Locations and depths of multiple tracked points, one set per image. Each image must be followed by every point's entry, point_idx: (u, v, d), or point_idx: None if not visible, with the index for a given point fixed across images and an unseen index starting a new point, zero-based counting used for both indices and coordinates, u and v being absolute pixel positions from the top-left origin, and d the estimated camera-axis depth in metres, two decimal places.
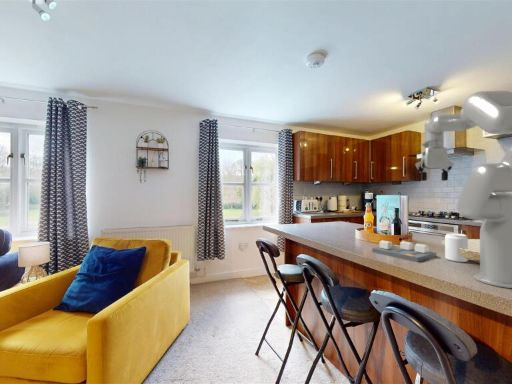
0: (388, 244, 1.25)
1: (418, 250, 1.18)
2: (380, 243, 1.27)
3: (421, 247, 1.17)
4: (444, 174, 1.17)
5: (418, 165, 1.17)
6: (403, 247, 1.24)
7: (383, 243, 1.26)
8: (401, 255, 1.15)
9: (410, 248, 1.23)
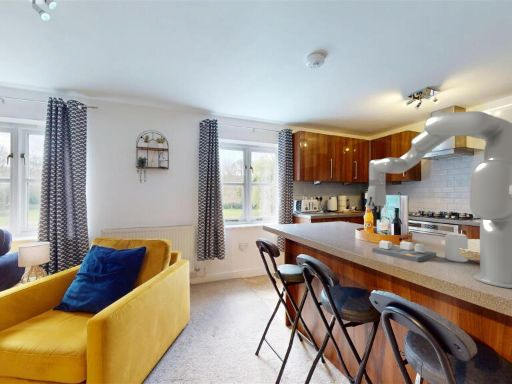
0: (388, 244, 1.25)
1: (418, 250, 1.18)
2: (380, 243, 1.27)
3: (421, 247, 1.17)
4: None
5: None
6: (403, 247, 1.24)
7: (383, 243, 1.26)
8: (401, 255, 1.15)
9: (410, 248, 1.23)
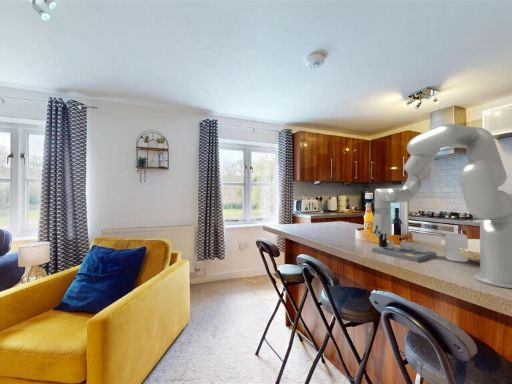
0: (390, 244, 1.25)
1: (418, 250, 1.18)
2: None
3: (421, 247, 1.17)
4: None
5: None
6: (403, 247, 1.24)
7: None
8: (401, 255, 1.15)
9: (410, 248, 1.23)
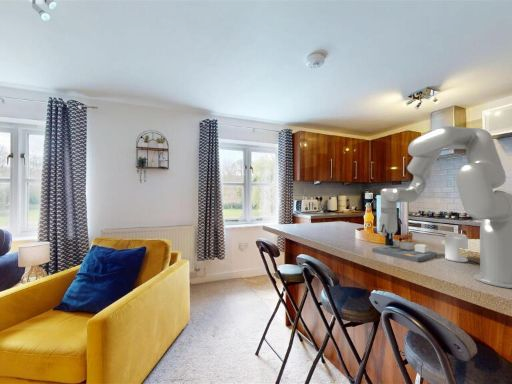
0: (396, 242, 1.28)
1: (418, 250, 1.18)
2: None
3: (421, 247, 1.17)
4: None
5: None
6: (403, 247, 1.24)
7: None
8: (401, 255, 1.15)
9: (410, 248, 1.23)
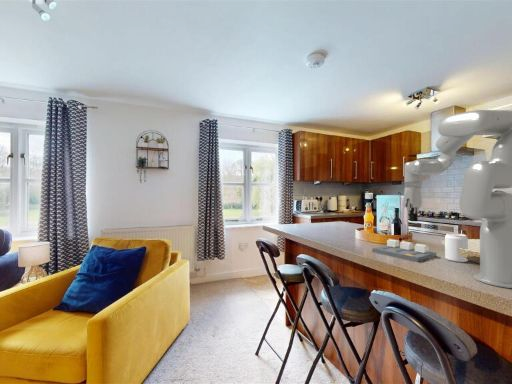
0: (395, 242, 1.28)
1: (418, 250, 1.18)
2: (388, 241, 1.31)
3: (421, 247, 1.17)
4: None
5: None
6: (403, 247, 1.24)
7: (391, 241, 1.30)
8: (401, 255, 1.15)
9: (410, 248, 1.23)
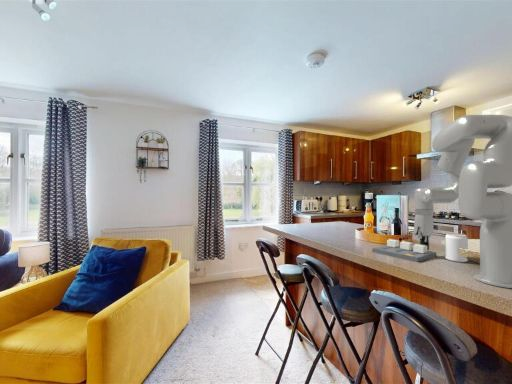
0: (395, 242, 1.28)
1: (416, 250, 1.18)
2: (388, 241, 1.31)
3: (420, 247, 1.16)
4: None
5: None
6: (403, 247, 1.24)
7: (391, 241, 1.30)
8: (401, 255, 1.15)
9: (410, 248, 1.23)
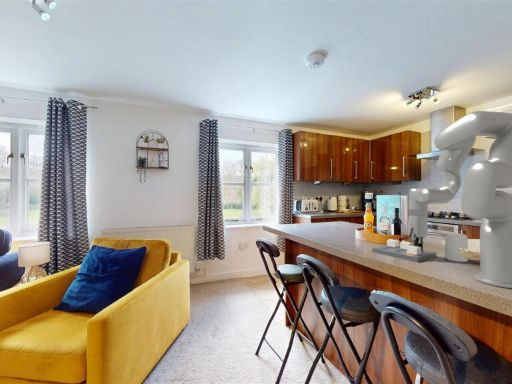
0: (395, 242, 1.28)
1: (410, 252, 1.14)
2: (388, 241, 1.31)
3: (413, 249, 1.13)
4: None
5: None
6: (403, 247, 1.24)
7: (391, 241, 1.30)
8: (401, 255, 1.15)
9: None
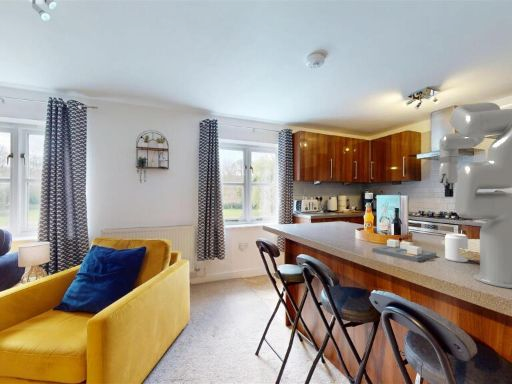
0: (395, 242, 1.28)
1: (410, 252, 1.15)
2: (388, 241, 1.31)
3: (414, 249, 1.13)
4: None
5: None
6: (403, 247, 1.24)
7: (391, 241, 1.30)
8: (401, 255, 1.15)
9: None
